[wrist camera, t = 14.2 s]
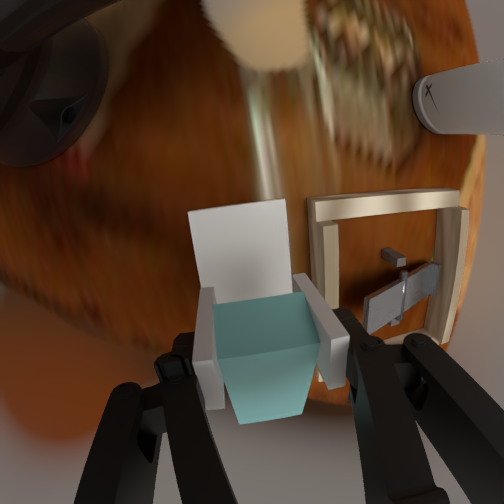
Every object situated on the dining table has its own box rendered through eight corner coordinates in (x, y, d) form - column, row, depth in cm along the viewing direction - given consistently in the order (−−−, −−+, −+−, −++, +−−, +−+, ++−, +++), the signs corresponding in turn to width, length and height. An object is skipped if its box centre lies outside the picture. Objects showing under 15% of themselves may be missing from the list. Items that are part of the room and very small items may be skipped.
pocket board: (312, 368, 31) (323, 392, 27) (306, 197, 25) (321, 205, 21) (428, 335, 32) (445, 352, 28) (444, 187, 26) (469, 193, 22)
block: (212, 304, 14) (217, 359, 12) (303, 291, 14) (321, 342, 12) (234, 388, 20) (239, 424, 18) (292, 378, 21) (301, 413, 18)
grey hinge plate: (360, 339, 24) (373, 347, 23) (363, 289, 22) (378, 295, 21) (424, 296, 29) (435, 300, 27) (429, 254, 27) (441, 257, 26)
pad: (213, 341, 28) (213, 345, 28) (188, 210, 24) (187, 212, 24) (293, 329, 29) (294, 332, 28) (283, 198, 25) (285, 198, 24)
